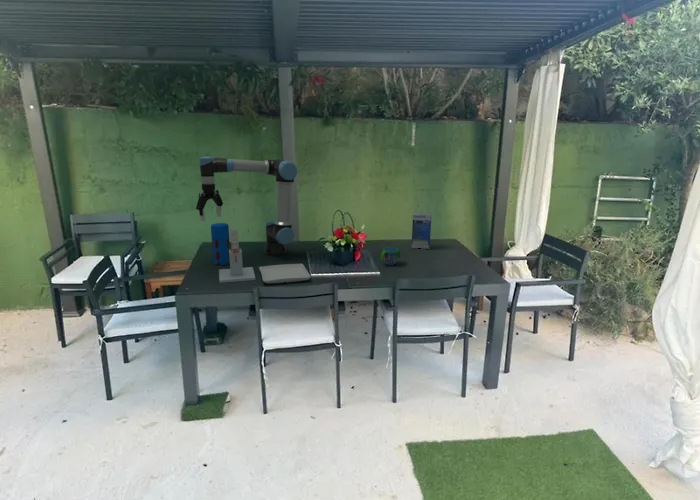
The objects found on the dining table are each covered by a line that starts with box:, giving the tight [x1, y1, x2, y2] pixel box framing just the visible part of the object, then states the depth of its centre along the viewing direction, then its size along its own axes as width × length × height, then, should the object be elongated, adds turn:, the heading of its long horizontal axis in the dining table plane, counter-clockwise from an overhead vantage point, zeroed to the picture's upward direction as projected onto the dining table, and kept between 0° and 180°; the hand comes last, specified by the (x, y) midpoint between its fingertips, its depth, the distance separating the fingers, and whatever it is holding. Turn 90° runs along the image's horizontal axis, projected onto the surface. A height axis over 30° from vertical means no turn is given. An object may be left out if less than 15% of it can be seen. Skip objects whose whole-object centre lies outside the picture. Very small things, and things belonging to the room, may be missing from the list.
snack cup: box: [380, 246, 401, 266], centre depth 286 cm, size 16×10×10 cm
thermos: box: [210, 222, 231, 266], centre depth 282 cm, size 11×11×25 cm
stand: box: [218, 248, 256, 284], centre depth 259 cm, size 20×20×16 cm
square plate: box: [258, 263, 311, 284], centre depth 261 cm, size 27×27×4 cm
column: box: [229, 228, 240, 252], centre depth 257 cm, size 4×4×26 cm
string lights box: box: [411, 212, 432, 249], centre depth 322 cm, size 13×8×26 cm, turn 77°
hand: (211, 218), depth 265 cm, fingers open, 13 cm apart
